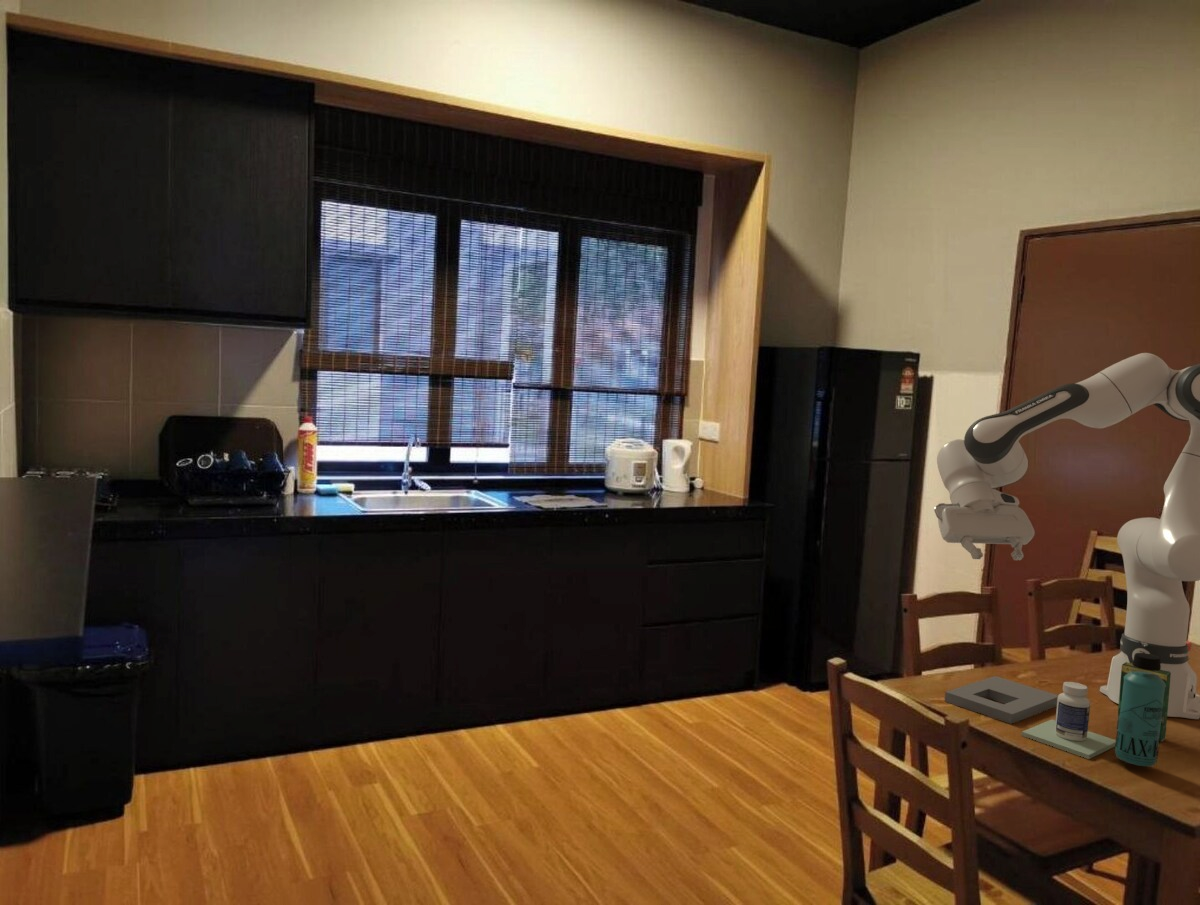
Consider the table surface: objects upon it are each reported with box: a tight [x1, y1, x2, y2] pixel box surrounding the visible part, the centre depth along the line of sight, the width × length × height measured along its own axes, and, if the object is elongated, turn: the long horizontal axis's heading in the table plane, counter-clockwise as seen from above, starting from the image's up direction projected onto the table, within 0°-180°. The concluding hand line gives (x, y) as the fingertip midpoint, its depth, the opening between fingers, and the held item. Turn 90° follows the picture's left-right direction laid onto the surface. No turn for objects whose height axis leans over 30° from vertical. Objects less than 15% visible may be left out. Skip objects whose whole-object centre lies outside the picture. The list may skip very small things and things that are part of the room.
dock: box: [944, 675, 1059, 725], centre depth 184 cm, size 20×14×2 cm
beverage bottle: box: [1114, 653, 1166, 767], centre depth 154 cm, size 6×7×20 cm
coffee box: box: [1116, 662, 1171, 743], centre depth 170 cm, size 8×3×13 cm, turn 43°
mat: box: [1021, 719, 1116, 760], centre depth 166 cm, size 12×12×1 cm
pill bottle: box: [1054, 681, 1091, 741], centre depth 165 cm, size 5×5×10 cm
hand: (998, 558), depth 186 cm, fingers open, 8 cm apart
